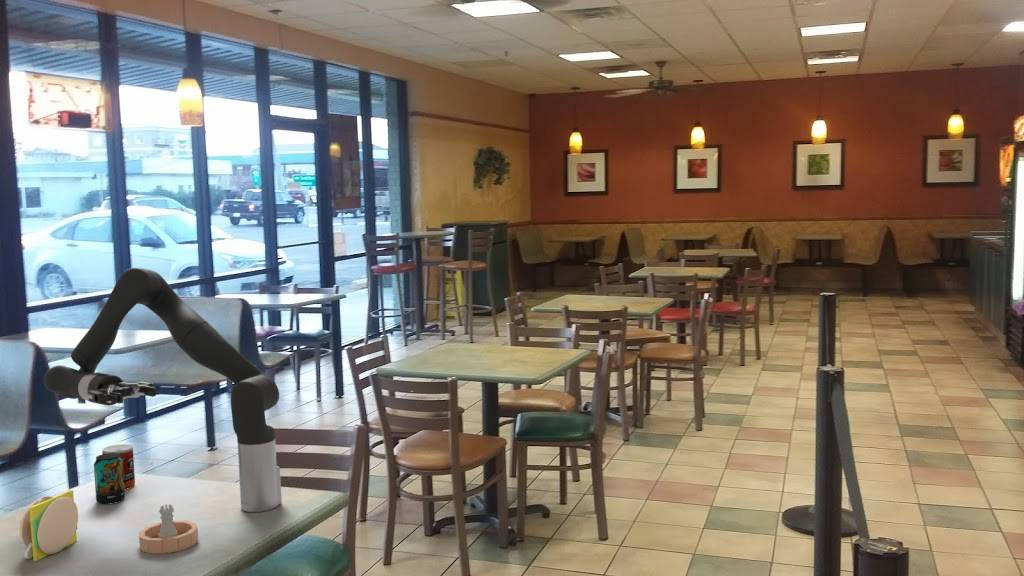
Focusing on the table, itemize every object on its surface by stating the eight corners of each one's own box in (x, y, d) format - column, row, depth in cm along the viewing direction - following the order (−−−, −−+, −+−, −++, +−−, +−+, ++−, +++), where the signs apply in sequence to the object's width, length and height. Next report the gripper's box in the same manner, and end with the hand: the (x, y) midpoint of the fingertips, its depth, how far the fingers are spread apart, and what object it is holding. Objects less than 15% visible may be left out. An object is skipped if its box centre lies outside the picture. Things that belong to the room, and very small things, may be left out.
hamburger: (55, 538, 215) (51, 488, 214) (84, 541, 212) (81, 491, 211) (14, 558, 203) (10, 505, 202) (44, 561, 201) (40, 508, 200)
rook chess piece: (166, 545, 207) (164, 510, 206) (153, 541, 209) (151, 507, 208) (183, 538, 211) (181, 504, 210) (170, 535, 213) (168, 501, 212)
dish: (176, 530, 219) (176, 517, 218) (209, 540, 211) (208, 527, 211) (128, 546, 209) (127, 533, 208) (160, 558, 201) (159, 544, 201)
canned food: (124, 491, 249) (121, 452, 248) (98, 490, 251) (95, 451, 250) (141, 483, 257) (138, 444, 256) (115, 482, 258) (113, 443, 257)
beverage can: (118, 504, 238) (115, 459, 237) (91, 505, 239) (88, 460, 237) (129, 496, 245) (127, 452, 244) (103, 496, 246) (100, 452, 244)
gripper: (72, 378, 222) (109, 385, 213) (126, 368, 234) (164, 374, 224) (74, 409, 223) (111, 417, 214) (128, 398, 235) (166, 405, 225)
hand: (138, 395), depth 219 cm, fingers open, 8 cm apart
